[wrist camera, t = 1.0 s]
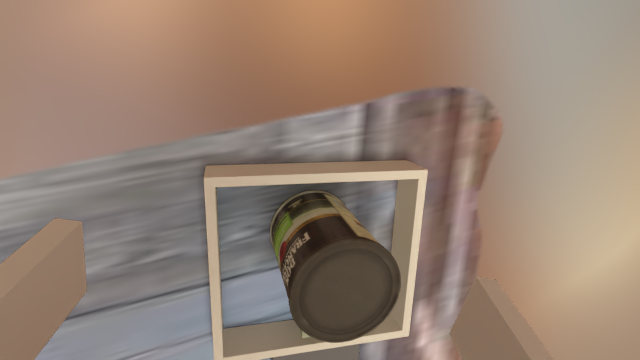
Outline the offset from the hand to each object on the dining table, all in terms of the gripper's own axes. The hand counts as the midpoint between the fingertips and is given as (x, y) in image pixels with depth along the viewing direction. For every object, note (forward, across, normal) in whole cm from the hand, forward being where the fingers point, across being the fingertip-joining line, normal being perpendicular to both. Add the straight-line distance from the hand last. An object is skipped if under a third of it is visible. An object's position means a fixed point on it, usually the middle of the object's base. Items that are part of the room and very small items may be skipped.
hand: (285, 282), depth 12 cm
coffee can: (+29, -4, +16) cm, 33 cm away
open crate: (+28, -5, +18) cm, 34 cm away
